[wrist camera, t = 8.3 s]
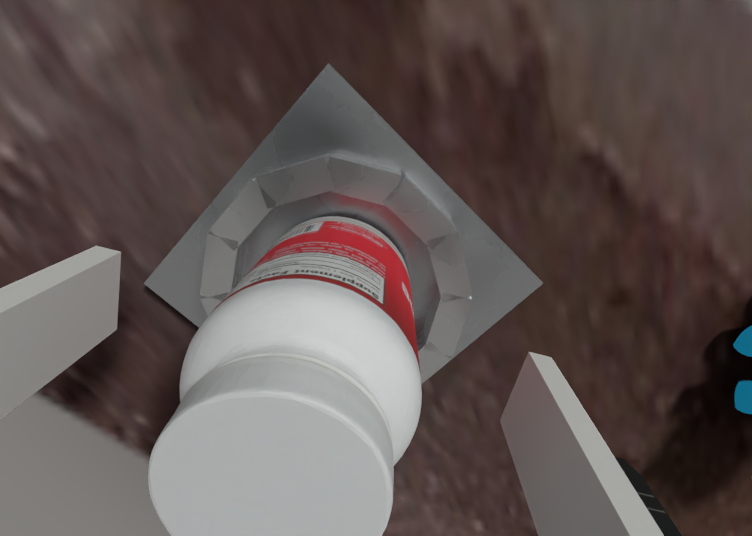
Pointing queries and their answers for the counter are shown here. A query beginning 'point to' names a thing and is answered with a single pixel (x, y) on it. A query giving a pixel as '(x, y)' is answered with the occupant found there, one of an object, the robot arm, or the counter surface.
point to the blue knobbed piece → (747, 393)
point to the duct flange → (357, 201)
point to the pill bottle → (296, 394)
